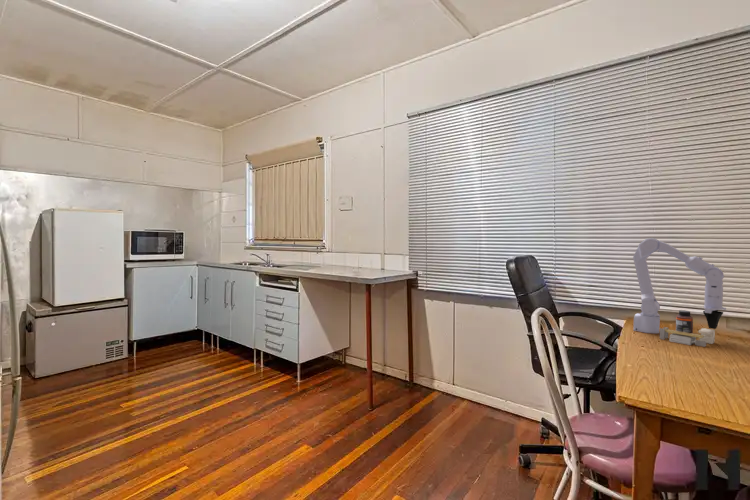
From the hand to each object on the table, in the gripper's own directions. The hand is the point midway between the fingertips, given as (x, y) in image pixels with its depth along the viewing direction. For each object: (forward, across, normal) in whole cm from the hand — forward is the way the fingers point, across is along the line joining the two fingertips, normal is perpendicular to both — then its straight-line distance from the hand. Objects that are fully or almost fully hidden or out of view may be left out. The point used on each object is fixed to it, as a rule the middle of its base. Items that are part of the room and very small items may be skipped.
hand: (712, 328), depth 163 cm
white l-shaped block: (+5, -8, 0) cm, 9 cm away
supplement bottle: (+6, +5, +11) cm, 14 cm away
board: (+6, -13, +6) cm, 16 cm away
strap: (+2, -14, +6) cm, 15 cm away
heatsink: (+5, -14, +6) cm, 16 cm away
